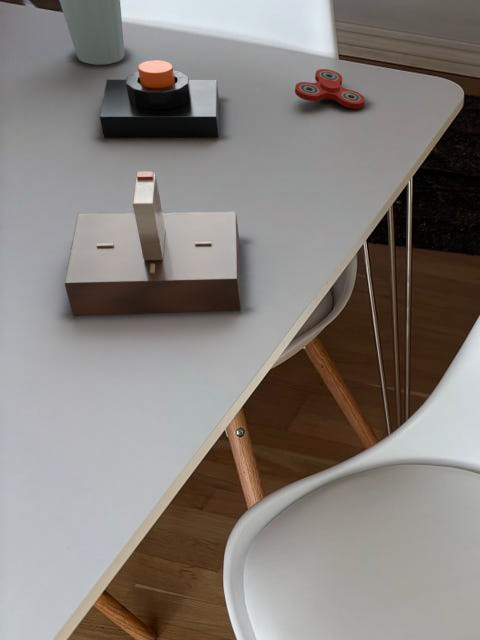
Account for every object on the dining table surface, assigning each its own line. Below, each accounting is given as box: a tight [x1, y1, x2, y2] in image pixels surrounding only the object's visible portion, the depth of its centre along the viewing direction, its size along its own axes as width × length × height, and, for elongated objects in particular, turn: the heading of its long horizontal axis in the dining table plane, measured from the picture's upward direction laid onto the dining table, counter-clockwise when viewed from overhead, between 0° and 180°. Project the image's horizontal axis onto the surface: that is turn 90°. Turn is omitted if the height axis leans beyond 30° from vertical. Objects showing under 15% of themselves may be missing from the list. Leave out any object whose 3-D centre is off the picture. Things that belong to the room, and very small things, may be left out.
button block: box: [99, 69, 220, 139], centre depth 111 cm, size 12×10×4 cm
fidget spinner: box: [294, 68, 366, 110], centre depth 118 cm, size 8×7×1 cm
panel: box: [64, 211, 242, 316], centre depth 90 cm, size 14×12×3 cm
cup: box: [58, 0, 125, 66], centre depth 119 cm, size 8×8×10 cm
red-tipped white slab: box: [132, 171, 165, 260], centre depth 87 cm, size 6×2×5 cm, turn 9°
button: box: [137, 59, 175, 88], centre depth 109 cm, size 4×4×2 cm
